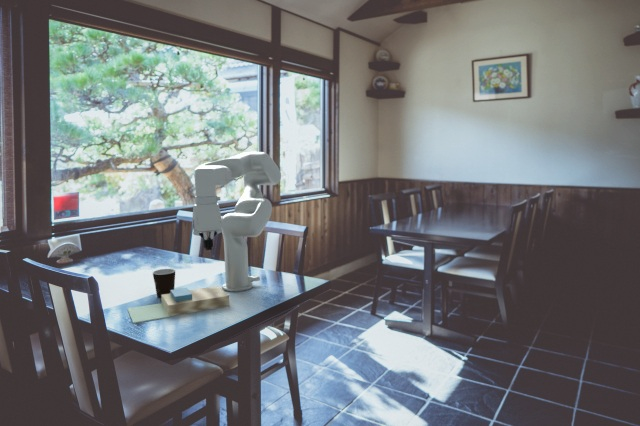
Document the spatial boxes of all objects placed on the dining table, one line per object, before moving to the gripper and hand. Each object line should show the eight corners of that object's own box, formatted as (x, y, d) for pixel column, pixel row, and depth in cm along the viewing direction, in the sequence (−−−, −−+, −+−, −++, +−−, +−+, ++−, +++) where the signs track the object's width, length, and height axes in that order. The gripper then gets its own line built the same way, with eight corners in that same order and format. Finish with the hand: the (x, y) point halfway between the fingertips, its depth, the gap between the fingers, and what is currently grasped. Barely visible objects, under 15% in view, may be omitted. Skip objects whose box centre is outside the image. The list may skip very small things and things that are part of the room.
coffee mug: (173, 299, 190) (171, 274, 189) (151, 299, 190) (149, 274, 189) (181, 290, 202) (180, 266, 200) (160, 290, 202) (159, 267, 200)
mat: (161, 304, 185) (161, 303, 185) (169, 317, 171) (169, 316, 170) (127, 309, 179) (127, 308, 179) (133, 323, 165) (133, 322, 165)
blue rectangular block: (186, 292, 185) (186, 287, 185) (192, 299, 177) (192, 294, 177) (170, 295, 182) (170, 290, 182) (175, 302, 174) (175, 296, 174)
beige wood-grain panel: (218, 295, 194) (218, 286, 193) (229, 305, 182) (229, 295, 181) (161, 304, 184) (161, 294, 183) (168, 316, 171) (168, 305, 171)
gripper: (223, 198, 186) (225, 245, 189) (183, 201, 179) (186, 249, 182) (229, 200, 180) (230, 249, 182) (188, 203, 173) (190, 253, 176)
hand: (208, 249), depth 182 cm, fingers closed
